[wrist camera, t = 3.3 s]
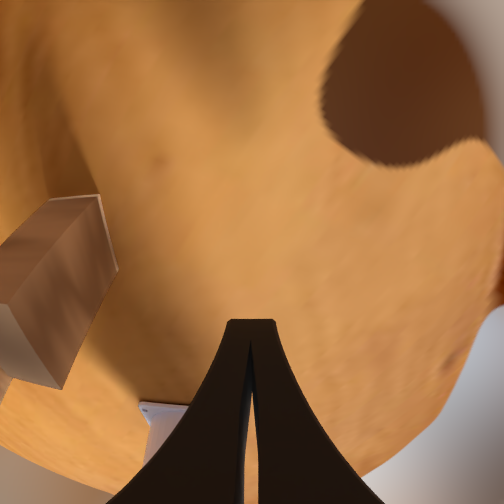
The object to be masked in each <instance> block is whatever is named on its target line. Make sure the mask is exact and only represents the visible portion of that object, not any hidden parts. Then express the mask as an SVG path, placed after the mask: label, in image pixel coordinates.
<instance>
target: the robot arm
mask: <svg viewBox="0 0 504 504" xmlns="http://www.w3.org/2000/svg"><path fill="white" fill-rule="evenodd" d="M252 394H253V405H254V416H255V426H256V437H257V447H258V504H385V503H384V502H383V501H382V500H380V498H378V496H377V495H376V494H375V493H374V492H373V491H372V490H371V489H370V488H369V487H368V486H367V485H366V484H365V482H364V481H363V480H362V479H361V478H360V477H359V476H358V474H357V473H356V472H355V471H354V469H353V468H352V467H351V466H350V465H349V463H348V462H347V461H346V460H345V458H344V457H343V456H342V454H341V453H340V452H339V451H338V449H337V448H336V446H335V445H334V444H333V442H332V441H331V439H330V438H329V436H328V435H327V433H326V432H325V430H324V429H323V427H322V426H321V424H320V423H319V421H318V419H317V418H316V416H315V414H314V413H313V411H312V409H311V408H310V406H309V404H308V402H307V400H306V398H305V396H304V395H303V393H302V391H301V389H300V387H299V385H298V383H297V381H296V378H295V376H294V374H293V372H292V370H291V367H290V365H289V363H288V360H287V358H286V355H285V353H284V350H283V347H282V344H281V341H280V338H279V335H278V331H277V326H276V322H275V321H274V320H273V319H230V320H229V321H228V322H227V325H226V329H225V332H224V335H223V338H222V341H221V343H220V346H219V348H218V351H217V353H216V356H215V358H214V360H213V362H212V364H211V366H210V368H209V370H208V373H207V375H206V377H205V379H204V381H203V382H202V384H201V386H200V388H199V390H198V391H197V393H196V395H195V397H194V398H193V400H192V402H191V404H190V405H189V406H184V405H172V404H161V403H152V402H139V404H138V407H139V409H140V410H141V412H142V414H143V416H144V417H145V419H146V420H147V422H148V424H149V425H150V430H149V435H148V440H147V445H146V451H145V456H144V461H143V467H142V469H141V470H140V471H139V472H138V473H137V474H136V475H135V476H134V477H133V479H132V480H131V481H130V482H129V483H128V484H127V485H126V486H125V487H124V488H123V489H122V490H121V491H119V492H118V493H117V494H116V495H115V496H114V497H113V498H112V499H110V500H109V501H108V502H107V503H106V504H244V463H245V449H246V441H247V432H248V423H249V415H250V406H251V397H252Z"/></svg>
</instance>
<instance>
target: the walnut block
mask: <svg viewBox="0 0 504 504" xmlns="http://www.w3.org/2000/svg"><path fill="white" fill-rule="evenodd" d="M118 270H119V268H118V264H117V261H116V257H115V254H114V250H113V246H112V243H111V239H110V235H109V231H108V227H107V223H106V219H105V215H104V210H103V206H102V202H101V197H100V194H92V195H81V196H70V197H60V198H51V199H49V200H48V201H47V202H45V203H44V204H43V205H42V206H41V207H40V208H39V209H38V210H37V211H35V212H34V213H33V214H32V215H31V216H30V217H29V218H28V219H27V220H26V221H25V222H24V223H23V224H22V225H21V226H20V227H19V228H18V229H16V230H15V231H14V232H13V233H12V234H11V235H10V236H9V237H8V238H7V239H6V240H5V242H4V243H3V244H2V245H1V246H0V366H1V368H2V369H3V370H4V372H5V373H6V374H7V376H9V377H13V378H16V379H20V380H23V381H27V382H31V383H34V384H38V385H42V386H46V387H51V388H55V389H59V390H62V389H63V386H64V384H65V381H66V379H67V377H68V374H69V372H70V369H71V367H72V365H73V362H74V360H75V358H76V356H77V353H78V351H79V349H80V347H81V345H82V342H83V340H84V338H85V336H86V334H87V332H88V330H89V327H90V325H91V323H92V321H93V319H94V317H95V315H96V313H97V311H98V309H99V307H100V305H101V303H102V301H103V299H104V297H105V295H106V293H107V291H108V289H109V287H110V285H111V283H112V281H113V280H114V278H115V276H116V274H117V272H118Z"/></svg>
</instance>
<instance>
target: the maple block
mask: <svg viewBox="0 0 504 504" xmlns="http://www.w3.org/2000/svg"><path fill="white" fill-rule="evenodd" d="M12 379H13V377H9V376H7V374H6V373H5V372H4V370H3V369H2V368H1V366H0V404H1V402H2V400H3V398H4V395H5V393H6V391H7V389H8V387H9V385H10V383H11V381H12Z"/></svg>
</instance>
